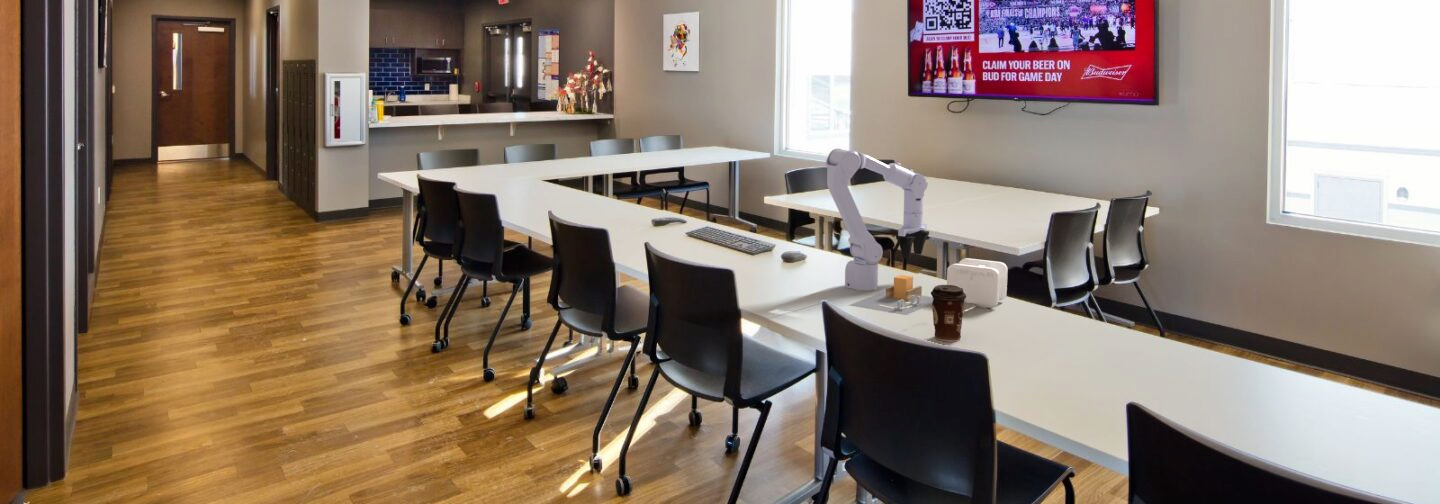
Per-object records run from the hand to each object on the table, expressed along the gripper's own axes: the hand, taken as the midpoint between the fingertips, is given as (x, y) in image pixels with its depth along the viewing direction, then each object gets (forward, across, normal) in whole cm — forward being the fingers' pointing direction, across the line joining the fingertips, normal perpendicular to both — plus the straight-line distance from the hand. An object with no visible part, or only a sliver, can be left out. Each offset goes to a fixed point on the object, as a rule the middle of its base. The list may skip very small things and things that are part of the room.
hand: (912, 256), depth 285 cm
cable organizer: (+10, -8, -25) cm, 28 cm away
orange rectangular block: (+8, -18, -7) cm, 21 cm away
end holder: (+8, -18, -7) cm, 21 cm away
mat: (+9, -24, -8) cm, 27 cm away
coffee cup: (+10, -46, -34) cm, 58 cm away
